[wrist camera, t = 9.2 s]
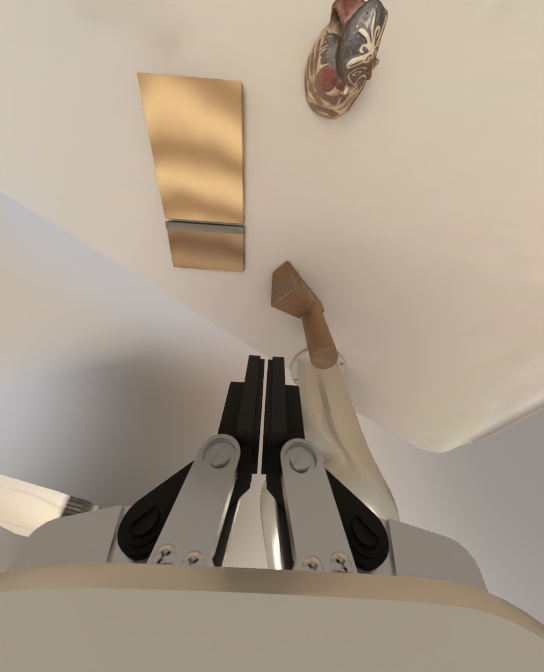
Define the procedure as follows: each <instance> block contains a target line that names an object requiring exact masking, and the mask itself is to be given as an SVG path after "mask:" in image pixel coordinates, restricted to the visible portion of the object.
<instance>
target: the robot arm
mask: <svg viewBox="0 0 544 672" xmlns="http://www.w3.org/2000/svg"><path fill="white" fill-rule="evenodd" d="M264 362H265V359H260V356H253V355H249V360H248V365H247V371H246V377H245V382H231V383H230V386H229V390H228V394H227V398H226V403H225V407H224V411H223V415H222V419H221V423H220V427H219V431H218V435H214V436H212V437H210V438H208V439H207V440H206V441H205V442H204V443H203V445H202V446H201V448H200V449H199V451H198V454H197V456H196V458H195V460H194V461H192V462H191V463H190V464H188V465H187V466H185V467H184V468H183V469H181V470H180V471H179V472H177V473H176V474H174V475H173V476H172V477H170V478H169V479H168V480H166V481H165V482H163V483H162V484H161V485H159V486H158V487H157V488H155V489H154V490H152V491H151V492H150V493H148V494H147V495H145V496H144V497H143V498H141V499H140V500H139V501H137V502H136V503H135V504H134V505H131V506H127V507H123V505H119V506H114V507H109V508H105V509H100V510H95V511H90V512H85V513H80V514H76V515H71V516H66V517H61V518H57V519H54V520H51V521H49V522H46V523H45V524H43V525H42V526H40V527H39V528H37V529H36V530H35V531H34V532H33V533H32V534H31V535H30V536H29V537H28V538H27V539H26V540H25V541H24V543H23V544H22V545H21V547H20V548H19V550H18V551H17V553H16V555H15V557H14V559H13V561H12V563H11V565H10V566H9V568H8V570H7V571H6V572H3V573H0V672H544V625H543V624H542V623H541V622H539V621H538V620H536V619H535V618H533V617H532V616H530V615H529V614H528V613H526V612H525V611H523V610H521V609H519V608H518V607H516V606H514V605H513V604H511V603H509V602H507V601H506V600H504V599H501V598H499V597H497V596H494V595H493V594H490V593H488V591H487V588H486V586H485V583H484V580H483V577H482V575H481V572H480V570H479V568H478V566H477V564H476V562H475V560H474V559H473V558H472V556H471V555H470V554H469V553H468V551H467V550H466V549H465V548H464V547H463V546H461V545H460V544H459V543H458V542H456V541H454V540H452V539H450V538H448V537H445V536H442V535H439V534H436V533H433V532H430V531H427V530H423V529H420V528H417V527H414V526H411V525H408V524H405V523H402V522H399V514H398V509H397V506H396V503H395V501H394V498H393V496H392V493H391V491H390V489H389V487H388V485H387V484H386V481H385V480H384V478H383V476H382V474H381V472H380V470H379V468H378V466H377V464H376V463H375V461H374V459H373V457H372V455H371V452H370V450H369V448H368V446H367V443H366V441H365V438H364V435H363V433H362V430H361V428H360V425H359V422H358V419H357V416H356V413H355V411H354V408H353V405H352V402H351V399H350V397H349V394H348V391H347V388H346V385H345V383H344V380H343V377H344V375H345V371H346V365H345V362H344V359H343V357H342V356H341V355H340V354H339V353H338V360H337V363H336V364H335V365H334V366H333V367H331V368H328V369H318V368H316V367H314V366H313V365H312V363H311V361H310V356H309V351H308V349H307V350H305V351H303V352H301V353H300V354H298V355H297V356H296V357H295V359H294V360H293V362H292V364H291V369H290V371H291V377H292V379H293V381H294V382H295V383H296V384H297V385H298V386H293V385H285V367H284V357H273V360H268V371H267V385H266V399H265V417H264V434H263V451H262V452H263V453H262V470H261V474H266V480H265V482H264V484H263V486H262V490H261V496H260V512H261V521H262V529H263V536H264V543H265V549H266V555H267V562H268V568H269V569H255V568H234V567H224V563H225V560H226V556H227V552H228V547H229V544H230V540H231V536H232V532H233V528H234V524H235V520H236V516H237V512H238V508H239V504H240V500H241V496H242V495H243V494H244V493H245V492H246V491H247V490H248V489H249V488H250V482H251V478H252V474H257V467H258V453H259V438H260V425H261V411H262V396H263V379H264Z"/></svg>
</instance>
